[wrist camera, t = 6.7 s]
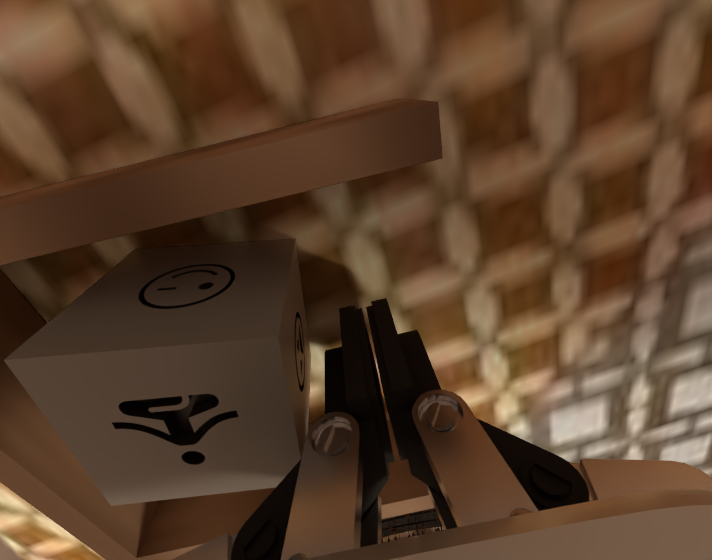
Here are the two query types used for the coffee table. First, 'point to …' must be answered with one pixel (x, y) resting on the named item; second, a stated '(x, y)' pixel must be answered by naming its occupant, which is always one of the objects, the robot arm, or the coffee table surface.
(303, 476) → the robot arm
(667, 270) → the coffee table surface
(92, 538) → the box
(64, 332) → the dice cube
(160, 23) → the coffee table surface
